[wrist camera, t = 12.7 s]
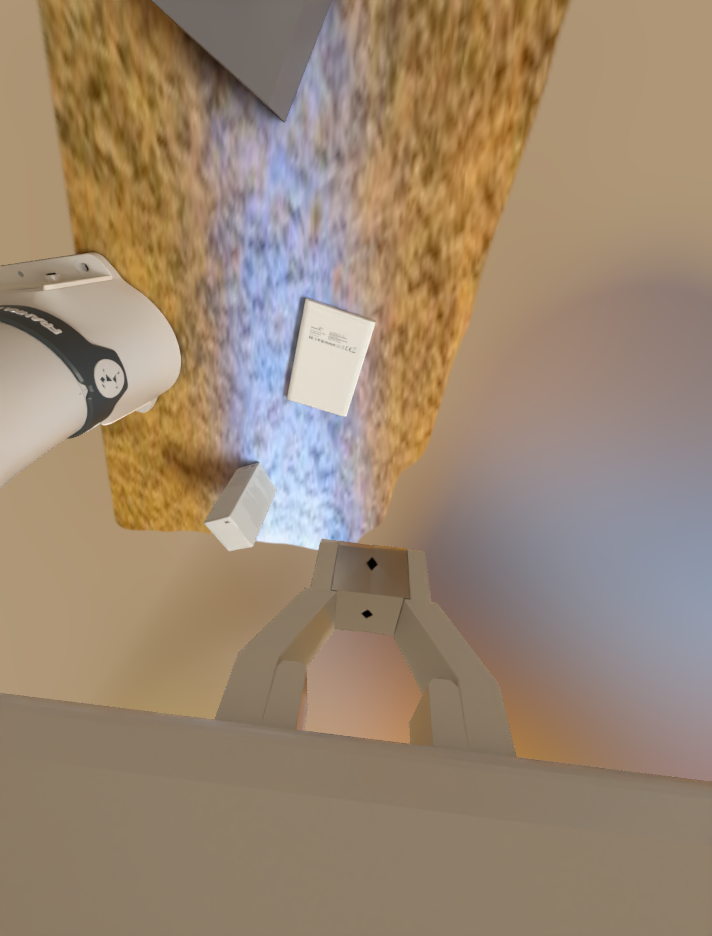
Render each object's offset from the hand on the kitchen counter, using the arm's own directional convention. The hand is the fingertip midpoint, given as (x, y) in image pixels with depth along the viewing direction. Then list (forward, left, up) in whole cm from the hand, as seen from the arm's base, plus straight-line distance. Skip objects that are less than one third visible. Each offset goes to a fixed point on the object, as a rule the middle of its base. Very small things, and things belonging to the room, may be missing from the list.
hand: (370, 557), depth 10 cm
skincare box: (-17, -26, -34) cm, 46 cm away
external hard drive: (-6, -6, -35) cm, 36 cm away
